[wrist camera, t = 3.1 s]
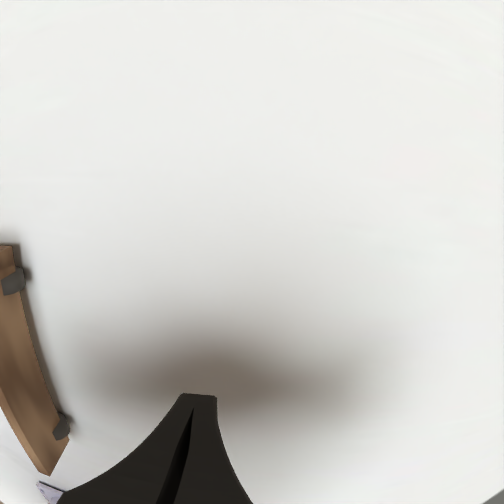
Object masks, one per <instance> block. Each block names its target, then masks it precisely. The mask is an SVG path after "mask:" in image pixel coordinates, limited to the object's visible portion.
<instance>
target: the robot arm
mask: <svg viewBox="0 0 504 504" xmlns="http://www.w3.org/2000/svg"><path fill="white" fill-rule="evenodd" d="M36 486H37V488H38V489H39V490H40V492H41V493H42V494H43V495H44V497H45V498H46V499H47V500H48V501H49V503H48V504H253V503H252V502H251V500H250V498H249V497H248V495H247V494H246V492H245V490H244V489H243V487H242V485H241V484H240V482H239V480H238V478H237V476H236V474H235V472H234V470H233V468H232V465H231V463H230V461H229V458H228V456H227V453H226V450H225V447H224V444H223V441H222V438H221V434H220V430H219V426H218V421H217V398H216V397H215V396H209V395H198V394H187V393H182V394H181V395H180V396H179V397H178V399H177V401H176V402H175V404H174V405H173V407H172V408H171V409H170V411H169V412H168V413H167V415H166V416H165V417H164V419H163V420H162V421H161V422H160V424H159V425H158V426H157V427H156V428H155V430H154V431H153V432H152V433H151V434H150V435H149V436H148V437H147V438H146V439H145V440H144V441H143V442H142V443H141V444H140V445H139V446H138V447H137V448H136V449H135V450H134V451H133V452H132V453H130V454H129V455H128V456H127V457H126V458H124V459H123V460H122V461H120V462H119V463H118V464H116V465H115V466H114V467H112V468H111V469H109V470H108V471H106V472H104V473H103V474H101V475H99V476H98V477H96V478H94V479H92V480H91V481H89V482H87V483H85V484H83V485H80V486H78V487H76V488H74V489H71V490H69V491H66V492H61V491H59V490H56V489H54V488H51V487H49V486H46V485H44V484H42V483H39V482H37V484H36Z"/></svg>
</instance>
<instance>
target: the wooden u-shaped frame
mask: <svg viewBox="0 0 504 504" xmlns="http://www.w3.org/2000/svg"><path fill="white" fill-rule="evenodd" d="M24 287H25V279H24V274H23V269H22V268H20V267H15V264H14V257H13V250H12V246H2V245H0V407H1V409H2V411H3V413H4V414H5V416H6V418H7V420H8V422H9V424H10V426H11V428H12V429H13V431H14V433H15V435H16V436H17V438H18V440H19V442H20V443H21V445H22V447H23V448H24V450H25V451H26V453H27V455H28V456H29V458H30V459H31V461H32V462H33V464H34V465H35V467H36V468H37V470H38V471H39V472H40V473H43V474H45V475H48V476H50V475H51V473H52V472H53V470H54V468H55V466H56V464H57V462H58V460H59V458H60V457H61V455H62V453H63V451H64V449H65V447H66V446H67V444H68V442H69V438H68V436H67V435H68V434H69V431H70V428H69V425H68V423H67V420H66V418H65V416H64V415H63V414H61V413H59V412H57V411H56V409H55V406H54V404H53V401H52V399H51V396H50V394H49V391H48V389H47V386H46V383H45V380H44V378H43V375H42V372H41V369H40V366H39V363H38V360H37V357H36V354H35V350H34V347H33V344H32V340H31V337H30V333H29V329H28V326H27V322H26V318H25V314H24V309H23V305H22V301H21V296H20V291H21V290H22V289H23V288H24Z"/></svg>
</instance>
